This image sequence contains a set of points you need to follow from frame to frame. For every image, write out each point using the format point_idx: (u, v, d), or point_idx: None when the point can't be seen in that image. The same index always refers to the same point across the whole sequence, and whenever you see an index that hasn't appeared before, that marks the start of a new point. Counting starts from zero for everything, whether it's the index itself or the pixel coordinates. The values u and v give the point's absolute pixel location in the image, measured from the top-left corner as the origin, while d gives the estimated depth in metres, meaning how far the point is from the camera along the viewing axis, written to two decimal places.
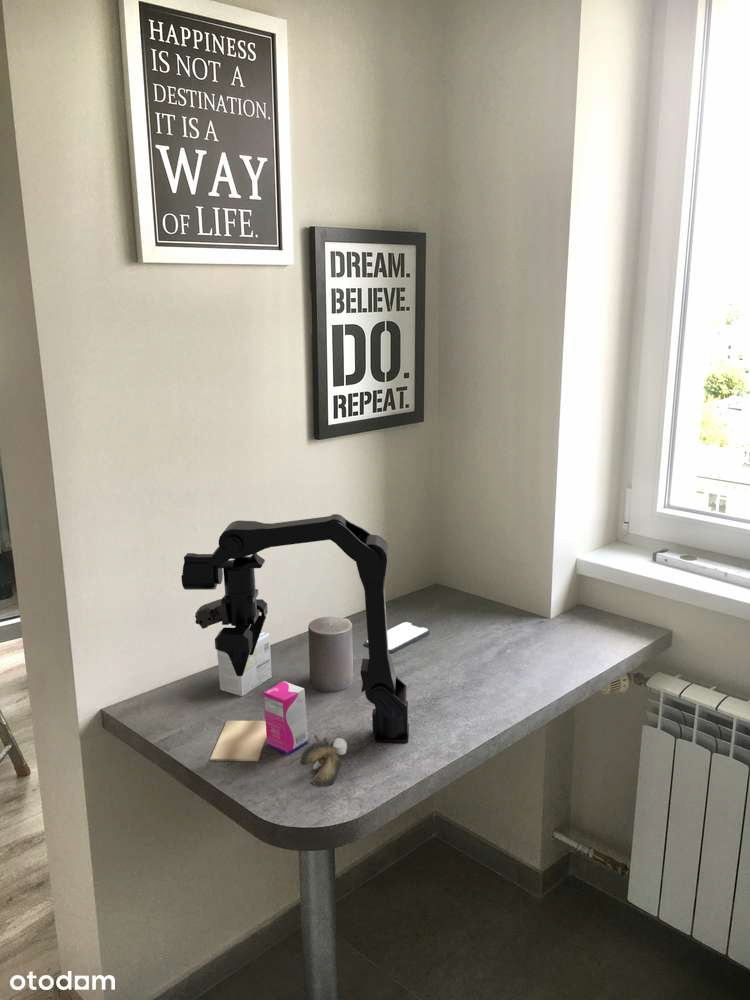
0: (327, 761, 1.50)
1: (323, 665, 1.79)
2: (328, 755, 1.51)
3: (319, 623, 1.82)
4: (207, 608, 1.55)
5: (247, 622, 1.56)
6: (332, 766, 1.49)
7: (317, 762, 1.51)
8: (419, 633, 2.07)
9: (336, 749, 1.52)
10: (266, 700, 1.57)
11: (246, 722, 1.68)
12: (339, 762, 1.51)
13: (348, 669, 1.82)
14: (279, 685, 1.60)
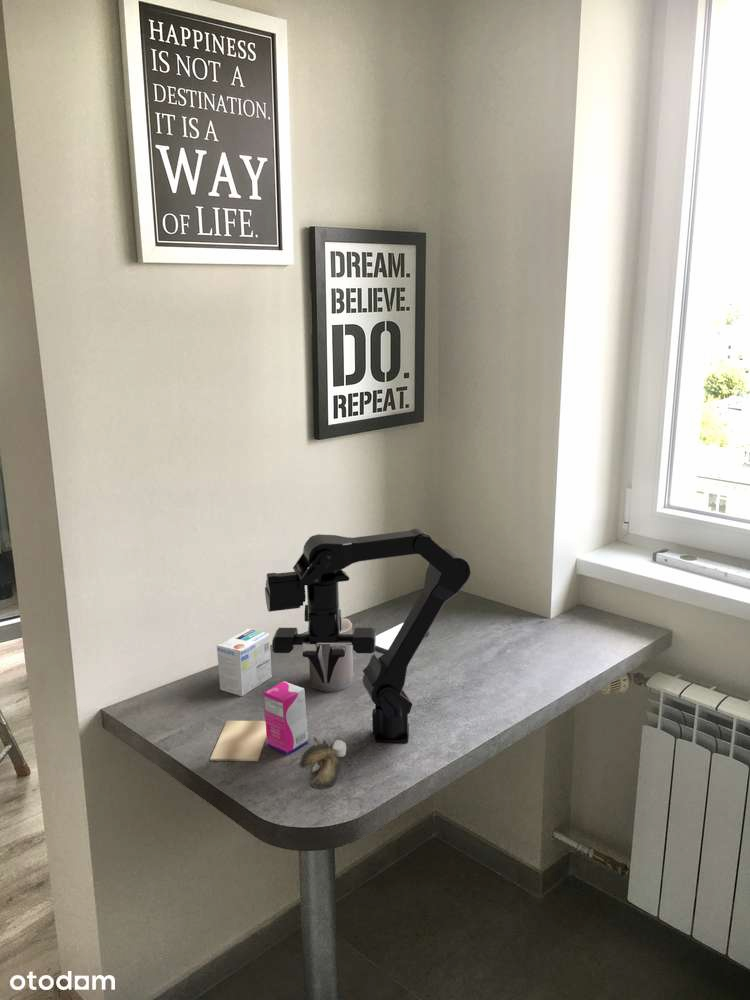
0: (327, 763, 1.49)
1: None
2: (328, 757, 1.50)
3: None
4: None
5: None
6: (332, 768, 1.48)
7: (316, 764, 1.51)
8: None
9: (336, 752, 1.51)
10: (266, 700, 1.57)
11: (246, 722, 1.68)
12: (339, 764, 1.50)
13: (348, 669, 1.82)
14: (279, 685, 1.60)
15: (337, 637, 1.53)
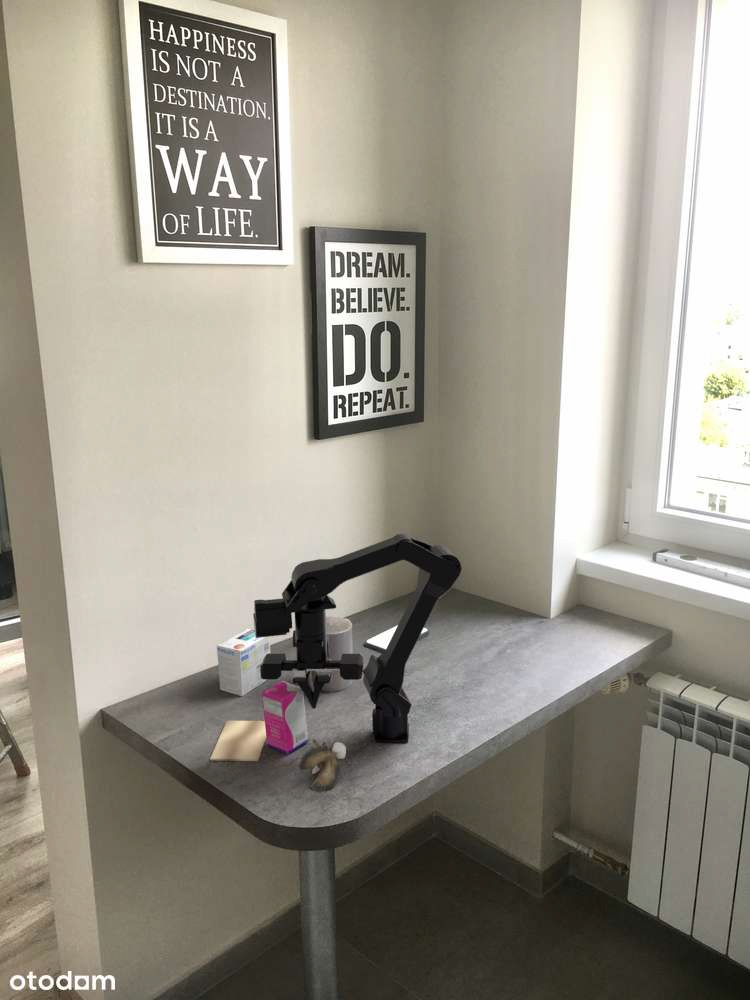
0: (326, 766, 1.48)
1: None
2: (327, 759, 1.49)
3: None
4: None
5: None
6: (332, 770, 1.48)
7: (316, 767, 1.50)
8: None
9: (335, 754, 1.50)
10: (265, 700, 1.57)
11: (246, 722, 1.68)
12: (338, 766, 1.49)
13: None
14: (277, 685, 1.60)
15: (324, 663, 1.54)
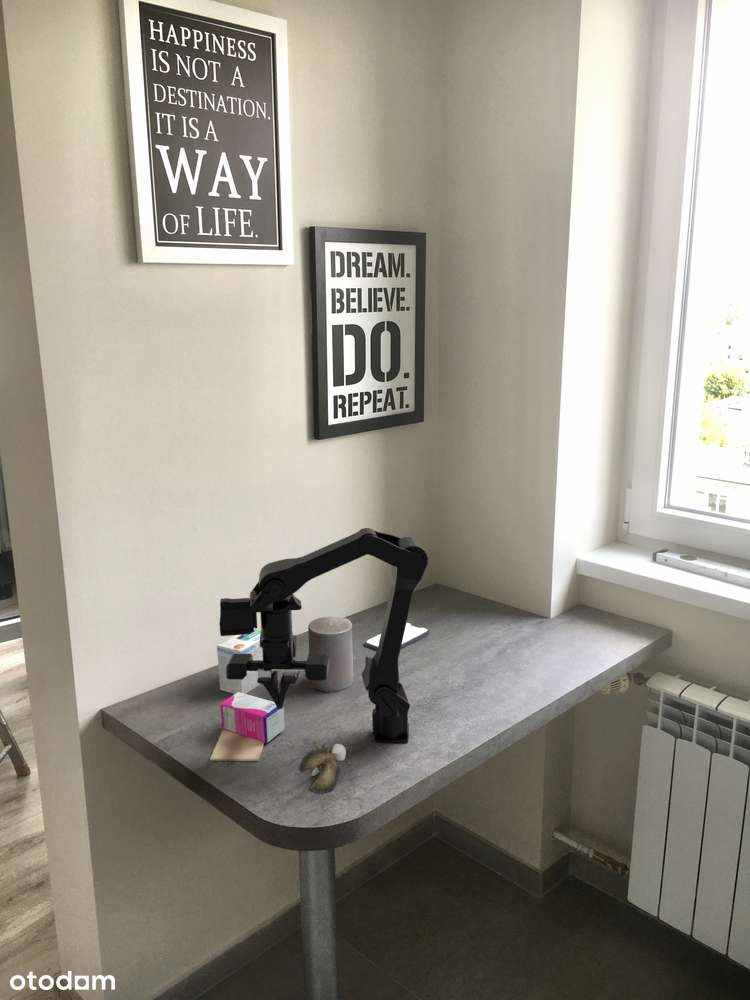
0: (326, 767, 1.48)
1: None
2: (327, 761, 1.49)
3: (319, 623, 1.82)
4: None
5: None
6: (332, 772, 1.47)
7: (316, 768, 1.49)
8: (418, 633, 2.07)
9: (335, 756, 1.50)
10: (227, 726, 1.65)
11: None
12: (338, 768, 1.49)
13: (348, 669, 1.82)
14: None
15: (290, 664, 1.55)
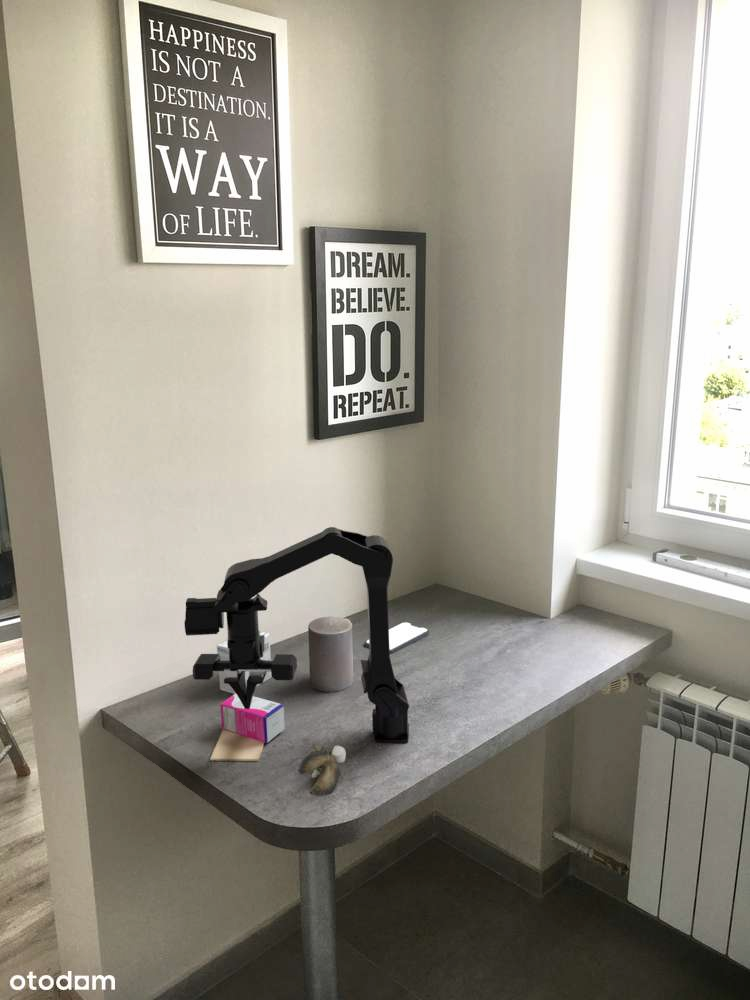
0: (326, 769, 1.47)
1: (323, 665, 1.79)
2: (327, 763, 1.48)
3: (319, 623, 1.82)
4: None
5: None
6: (332, 774, 1.47)
7: (316, 770, 1.49)
8: (418, 633, 2.07)
9: (335, 757, 1.49)
10: (227, 726, 1.65)
11: None
12: (338, 770, 1.48)
13: (348, 669, 1.82)
14: None
15: (257, 664, 1.55)
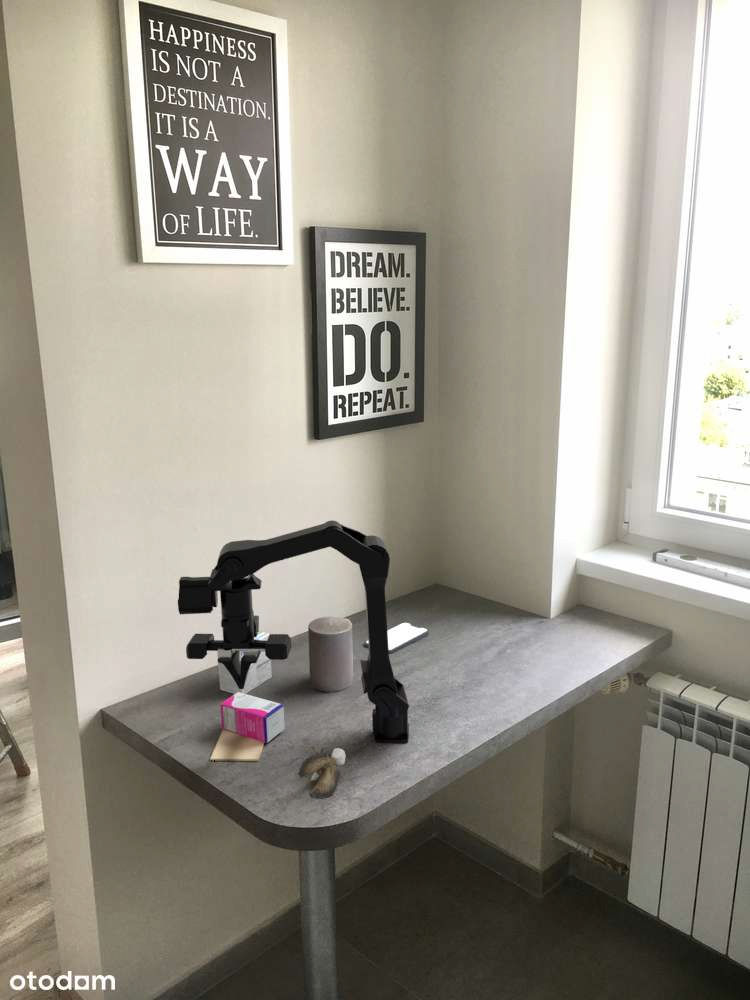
0: (326, 772, 1.47)
1: (323, 664, 1.79)
2: (327, 766, 1.47)
3: (319, 623, 1.83)
4: None
5: None
6: (331, 776, 1.46)
7: (315, 773, 1.48)
8: (418, 633, 2.07)
9: (335, 760, 1.48)
10: (227, 726, 1.65)
11: None
12: (338, 773, 1.47)
13: (348, 669, 1.82)
14: None
15: (251, 643, 1.54)
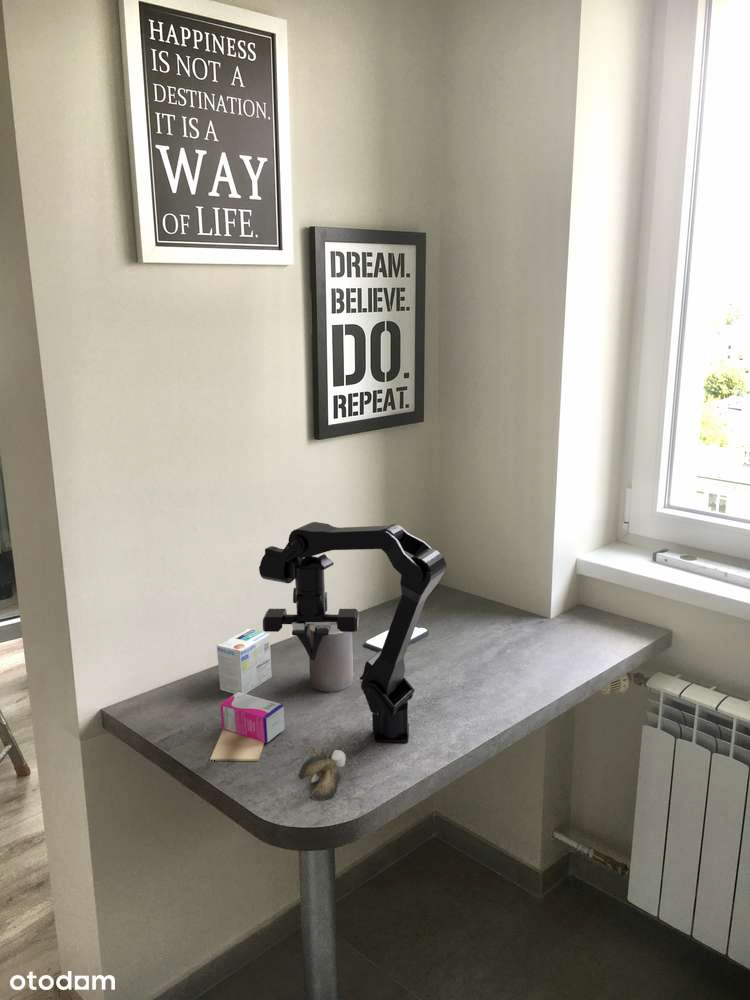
0: (326, 774, 1.46)
1: (323, 665, 1.79)
2: (327, 768, 1.47)
3: None
4: None
5: None
6: (331, 779, 1.45)
7: (315, 775, 1.47)
8: (418, 633, 2.07)
9: (335, 762, 1.48)
10: (227, 726, 1.65)
11: None
12: (338, 775, 1.47)
13: (348, 669, 1.82)
14: None
15: (323, 617, 1.65)
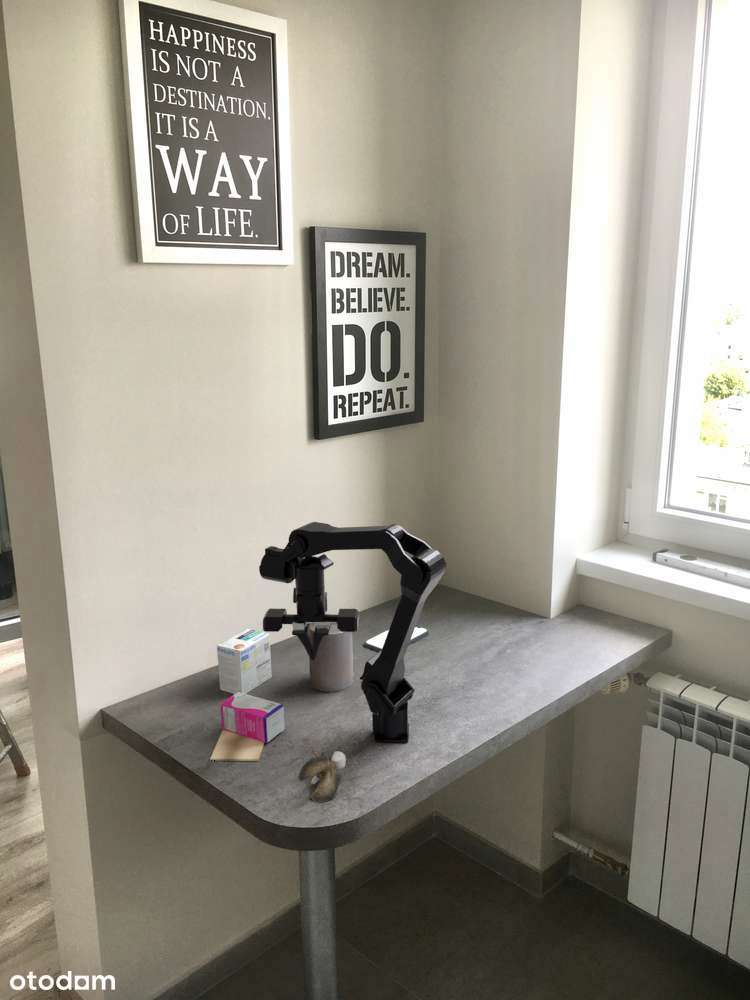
0: (326, 775, 1.45)
1: (323, 665, 1.79)
2: (327, 769, 1.46)
3: None
4: None
5: None
6: (332, 780, 1.45)
7: (315, 777, 1.47)
8: (418, 633, 2.07)
9: (335, 763, 1.47)
10: (227, 726, 1.65)
11: None
12: (338, 776, 1.46)
13: (348, 669, 1.82)
14: None
15: (323, 617, 1.65)
